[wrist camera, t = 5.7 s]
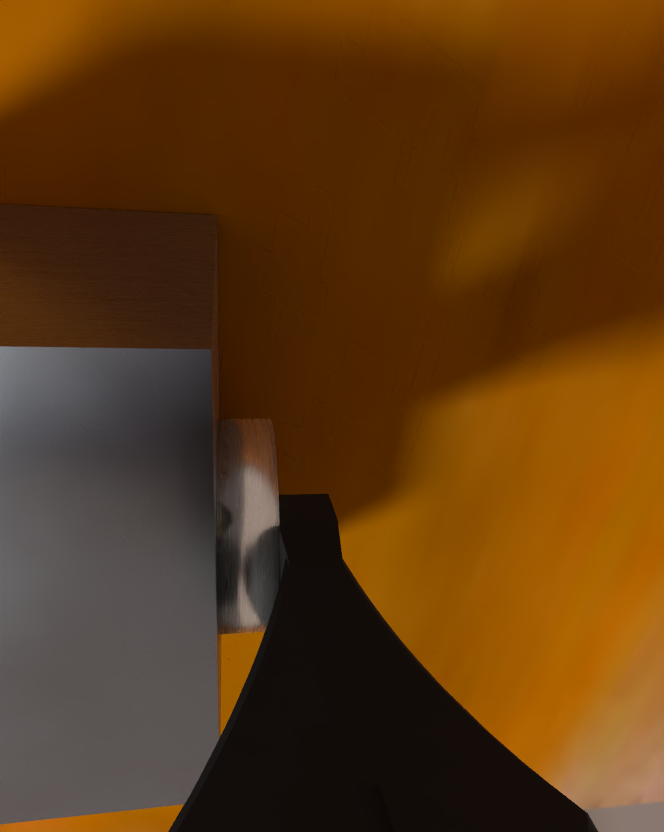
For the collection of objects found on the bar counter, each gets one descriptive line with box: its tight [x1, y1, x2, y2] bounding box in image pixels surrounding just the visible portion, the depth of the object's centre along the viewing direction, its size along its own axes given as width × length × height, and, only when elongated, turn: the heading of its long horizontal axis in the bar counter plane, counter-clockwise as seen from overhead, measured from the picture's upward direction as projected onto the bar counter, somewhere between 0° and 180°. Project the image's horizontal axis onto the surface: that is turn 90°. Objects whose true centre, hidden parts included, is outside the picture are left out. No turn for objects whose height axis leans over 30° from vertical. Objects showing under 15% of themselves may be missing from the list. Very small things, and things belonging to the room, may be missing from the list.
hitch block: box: [0, 204, 221, 824], centre depth 11 cm, size 6×10×6 cm, turn 175°
